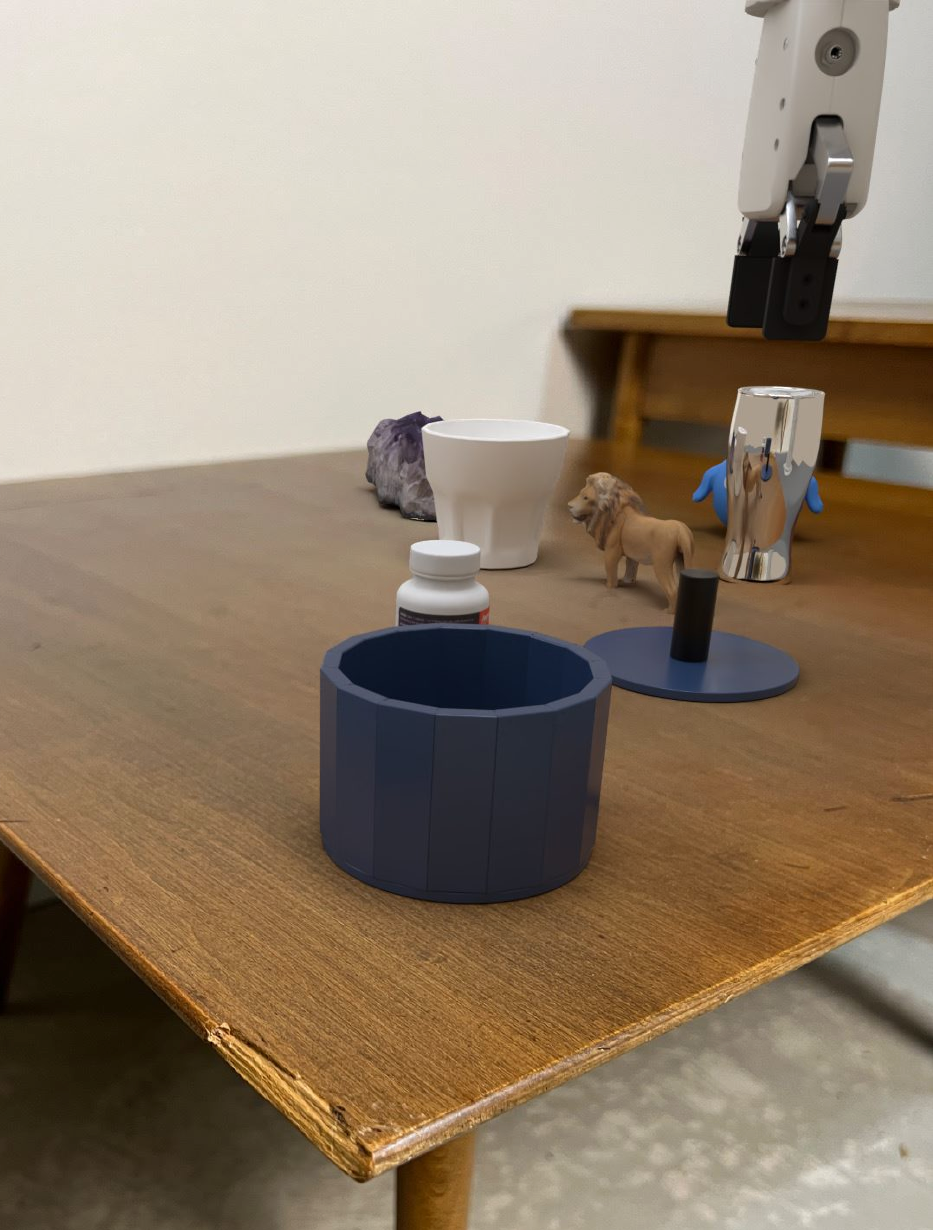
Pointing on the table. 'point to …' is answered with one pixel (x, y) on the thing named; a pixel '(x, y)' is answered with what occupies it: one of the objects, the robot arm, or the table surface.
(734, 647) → the lid
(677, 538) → the lion figurine
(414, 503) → the geode
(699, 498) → the blue mole toy
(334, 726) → the pot
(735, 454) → the beer glass
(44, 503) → the table surface
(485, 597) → the pill bottle
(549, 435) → the cup
